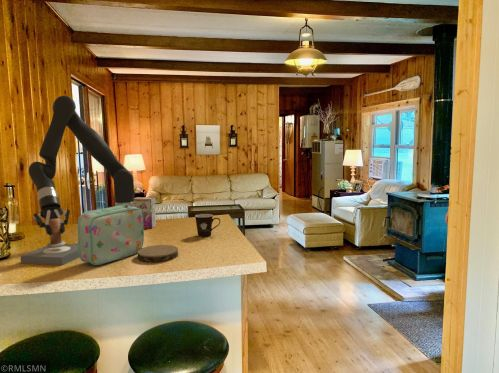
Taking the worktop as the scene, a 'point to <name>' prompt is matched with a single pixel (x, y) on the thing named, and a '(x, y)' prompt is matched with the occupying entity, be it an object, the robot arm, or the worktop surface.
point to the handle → (55, 234)
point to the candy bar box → (147, 210)
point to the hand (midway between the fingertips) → (56, 233)
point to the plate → (52, 255)
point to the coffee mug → (205, 224)
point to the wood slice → (157, 253)
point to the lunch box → (110, 234)
